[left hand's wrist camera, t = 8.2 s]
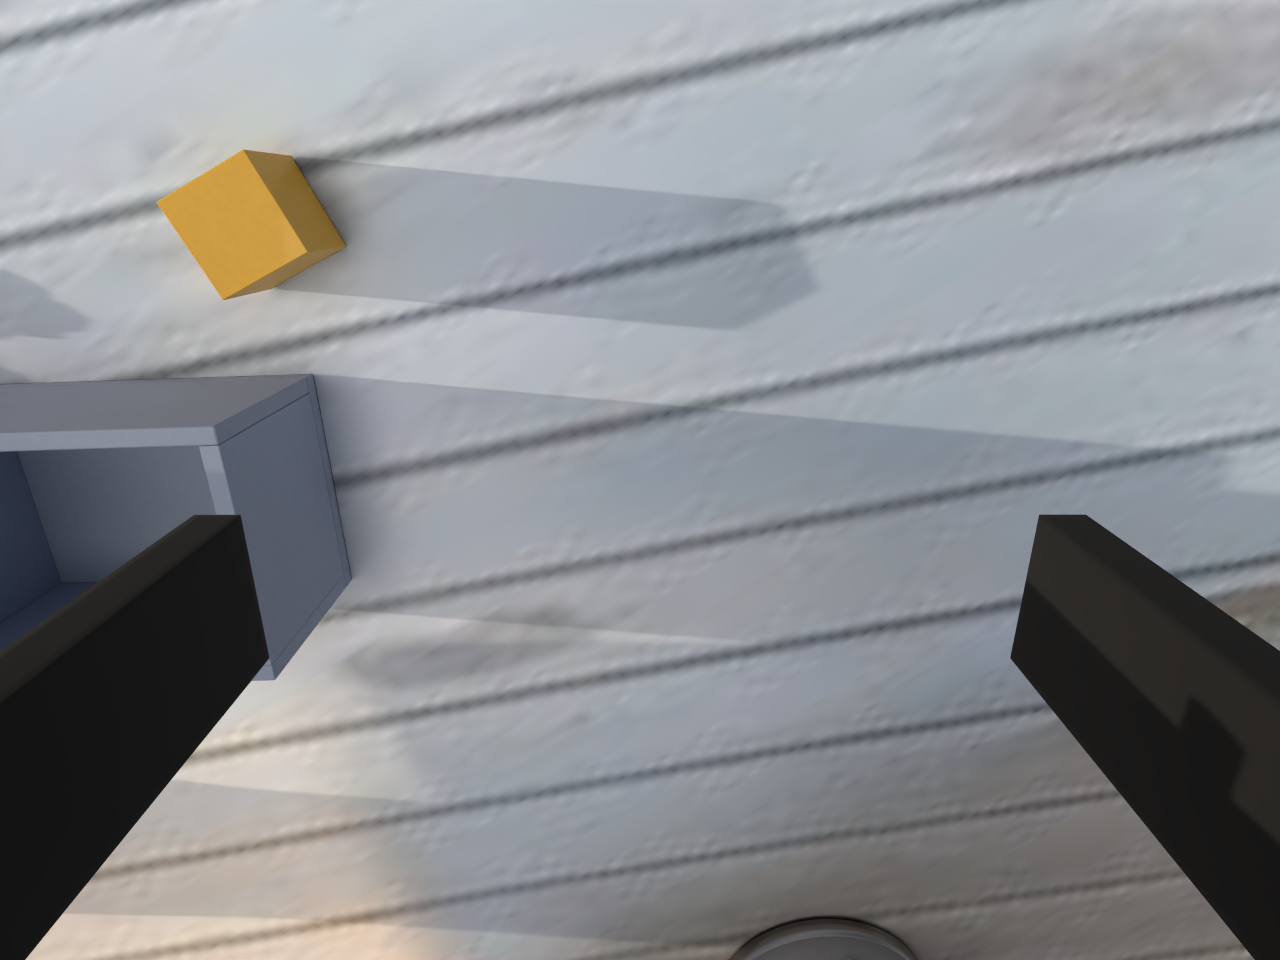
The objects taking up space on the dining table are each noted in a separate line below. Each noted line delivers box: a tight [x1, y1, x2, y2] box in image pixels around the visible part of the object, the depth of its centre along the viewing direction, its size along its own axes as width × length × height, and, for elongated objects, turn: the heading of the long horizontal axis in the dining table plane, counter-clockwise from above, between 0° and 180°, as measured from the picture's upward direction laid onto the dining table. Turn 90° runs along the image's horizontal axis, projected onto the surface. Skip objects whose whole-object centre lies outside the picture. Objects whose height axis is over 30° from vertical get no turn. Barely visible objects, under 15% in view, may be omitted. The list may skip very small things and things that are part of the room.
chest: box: [0, 374, 351, 681], centre depth 37 cm, size 17×12×10 cm
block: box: [157, 150, 346, 300], centre depth 35 cm, size 5×5×5 cm
